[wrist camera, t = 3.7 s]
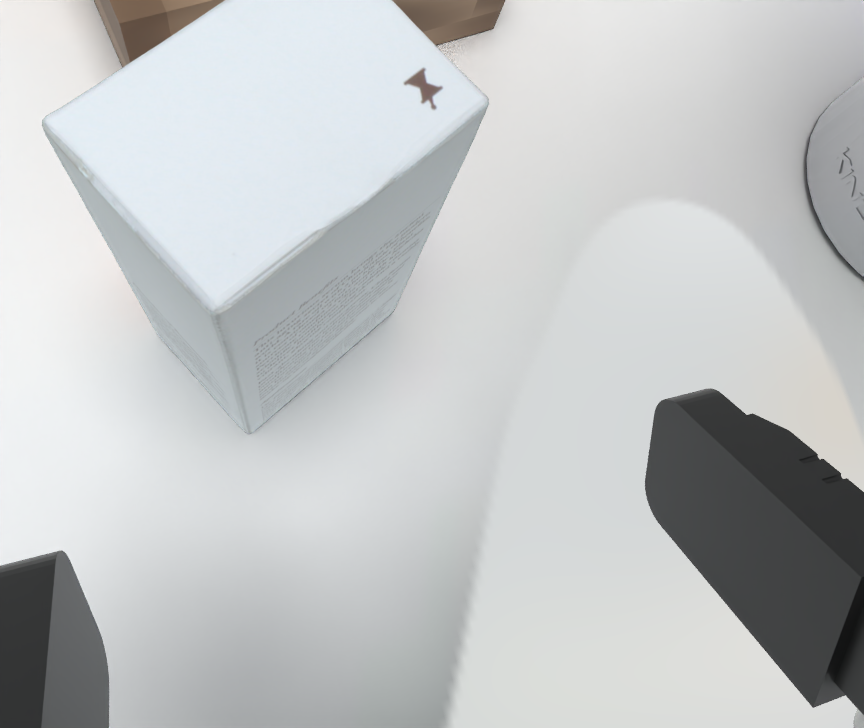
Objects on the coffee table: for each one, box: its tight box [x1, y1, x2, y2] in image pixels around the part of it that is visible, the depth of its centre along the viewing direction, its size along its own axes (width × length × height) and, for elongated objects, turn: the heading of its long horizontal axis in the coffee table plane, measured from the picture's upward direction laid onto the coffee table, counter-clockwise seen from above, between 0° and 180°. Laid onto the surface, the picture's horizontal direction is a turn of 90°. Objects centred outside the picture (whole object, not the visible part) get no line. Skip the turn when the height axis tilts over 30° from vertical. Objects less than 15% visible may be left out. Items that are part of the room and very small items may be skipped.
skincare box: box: [42, 0, 489, 434], centre depth 18 cm, size 6×4×12 cm
